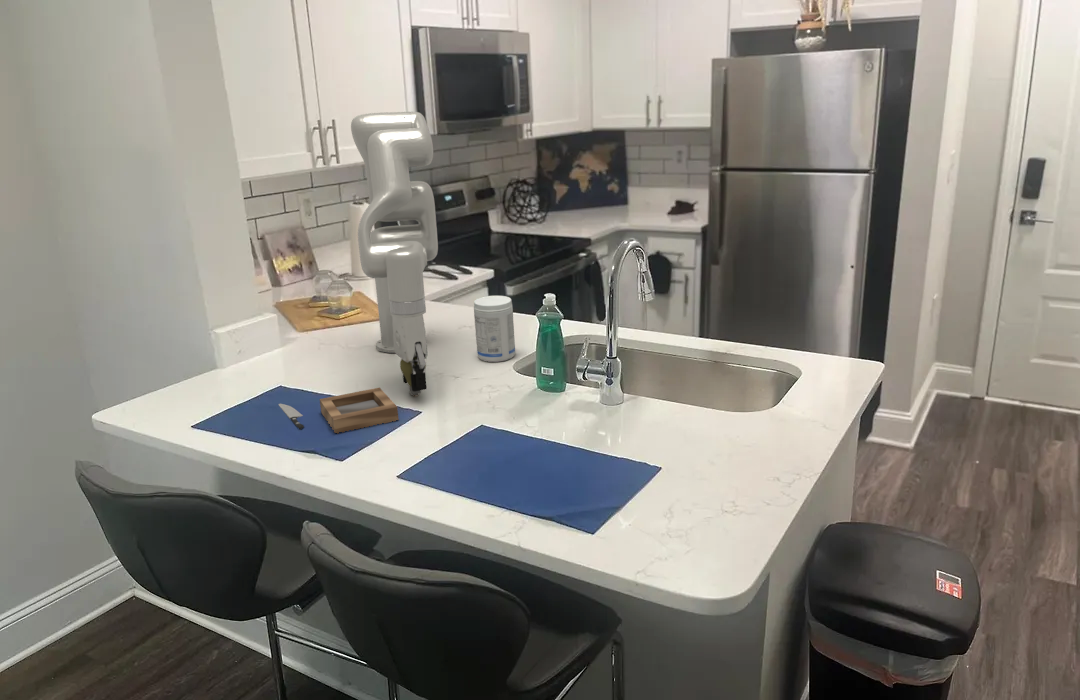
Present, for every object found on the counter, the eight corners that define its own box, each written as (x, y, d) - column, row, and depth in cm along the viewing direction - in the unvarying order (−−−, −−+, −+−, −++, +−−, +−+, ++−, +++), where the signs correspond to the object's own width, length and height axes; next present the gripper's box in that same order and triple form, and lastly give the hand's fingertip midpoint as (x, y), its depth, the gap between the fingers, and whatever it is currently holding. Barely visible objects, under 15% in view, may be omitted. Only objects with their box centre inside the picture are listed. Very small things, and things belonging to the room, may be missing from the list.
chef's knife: (289, 401, 180) (275, 403, 178) (289, 396, 180) (275, 398, 178) (313, 428, 164) (299, 431, 163) (313, 423, 164) (298, 426, 162)
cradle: (321, 412, 171) (319, 399, 170) (380, 400, 177) (379, 387, 176) (335, 433, 160) (333, 419, 159) (398, 420, 165) (397, 406, 164)
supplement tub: (500, 348, 208) (497, 293, 204) (523, 356, 201) (520, 299, 197) (469, 357, 203) (465, 300, 198) (491, 365, 196) (488, 307, 191)
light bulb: (433, 394, 178) (430, 351, 175) (413, 402, 175) (409, 358, 172) (417, 389, 182) (413, 347, 179) (398, 396, 178) (393, 353, 175)
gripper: (379, 300, 178) (387, 377, 183) (402, 318, 163) (410, 401, 169) (412, 295, 181) (418, 371, 187) (438, 312, 166) (444, 394, 172)
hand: (414, 385), depth 178 cm, fingers closed on light bulb, 5 cm apart
